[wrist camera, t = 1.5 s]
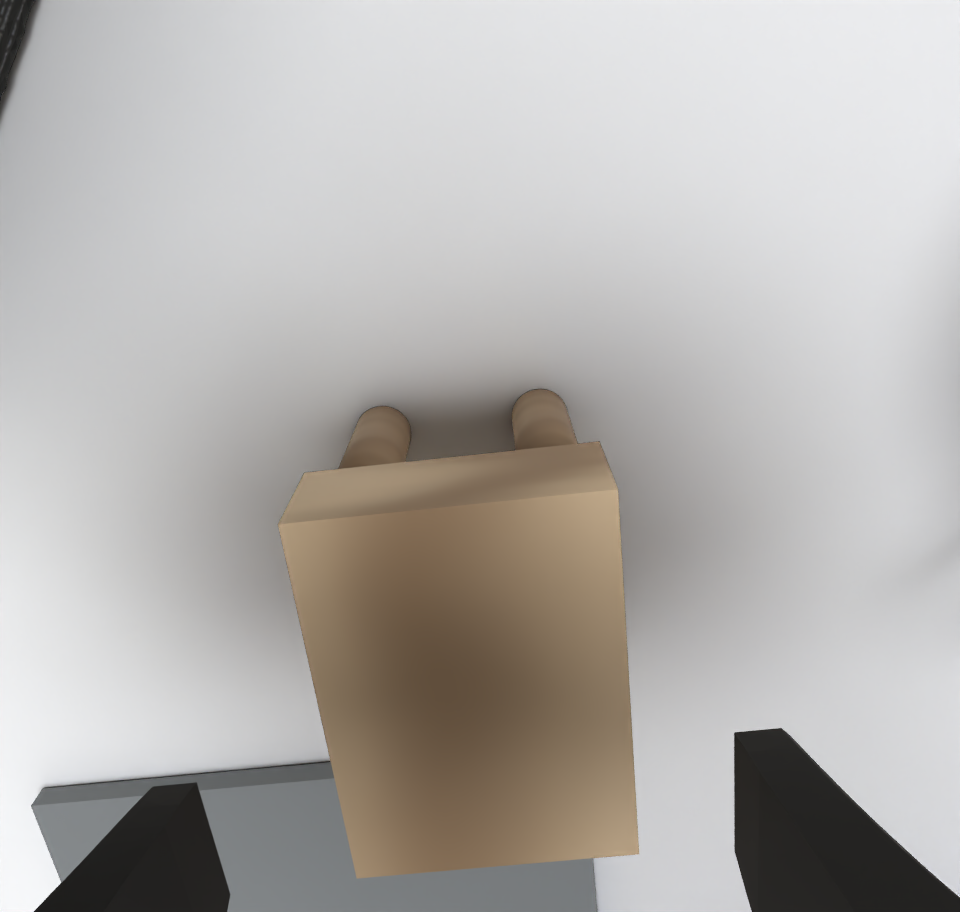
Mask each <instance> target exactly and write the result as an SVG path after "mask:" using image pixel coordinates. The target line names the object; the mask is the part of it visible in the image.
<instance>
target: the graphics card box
mask: <svg viewBox="0 0 960 912" xmlns="http://www.w3.org/2000/svg"><path fill="white" fill-rule="evenodd" d="M33 2H34V0H0V99H1V95H2V94H3V92H4V91H5V89H6V84H7V76H8V74H9V71H10V68H11V66H12V64H13V61H14V59H15V56H16V53H17V51H18V48H19V45H20V42H21V39H22V37H23V35H24V33H25V24H26V20H27V17H28V14H29V11H30V9H31V7H32V5H33Z"/></svg>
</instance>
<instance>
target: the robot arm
mask: <svg viewBox="0 0 960 912" xmlns="http://www.w3.org/2000/svg"><path fill="white" fill-rule="evenodd" d="M734 774H735V854H736V857H737V861H738V864H739V868H740V872H741V875H742V879H743V882H744V886H745V890H746V893H747V897H748V900H749V903H750V907H751V910H752V912H960V897H958V896H957V895H956V894H955V893H954V892H953V891H951V890H950V889H949V888H948V887H947V886H945V885H944V884H943V883H942V882H941V881H940V880H939V879H937V878H936V877H935V876H934V875H933V874H932V873H931V872H930V871H928V870H927V869H926V868H925V867H924V866H923V865H922V864H921V863H919V862H918V861H917V860H916V859H915V858H914V857H913V856H912V855H911V854H910V853H909V852H908V851H906V850H905V849H904V848H903V847H902V846H901V845H900V844H899V843H898V842H897V841H896V840H895V839H893V838H892V837H891V836H890V835H889V834H888V833H887V832H886V831H885V830H884V829H883V828H882V827H881V826H879V825H878V824H877V823H876V822H875V821H874V820H873V819H872V818H871V817H870V816H869V815H868V814H867V813H866V812H865V811H864V810H863V809H862V808H861V807H860V806H859V805H858V804H857V803H856V802H855V801H854V800H853V799H852V798H851V797H850V796H849V795H848V794H847V793H846V792H845V791H844V790H843V789H842V788H841V787H840V786H839V785H837V784H836V783H835V782H834V780H833V779H832V778H831V777H830V776H829V775H828V774H827V773H826V772H825V771H824V770H823V769H822V768H821V767H820V766H819V765H818V764H817V763H816V762H815V761H814V760H813V759H812V758H811V757H810V756H809V755H808V754H807V753H806V752H805V751H804V750H803V749H802V748H801V746H800V745H799V744H798V743H797V742H796V741H795V740H794V739H793V738H792V737H791V736H790V735H789V734H788V733H786V732H785V731H784V730H783V729H782V728H778V729H768V730H757V731H746V732H735V733H734ZM229 900H230V891H229V888H228V885H227V881H226V878H225V875H224V871H223V868H222V865H221V862H220V858H219V855H218V852H217V848H216V845H215V842H214V838H213V835H212V832H211V828H210V825H209V822H208V818H207V815H206V812H205V808H204V805H203V802H202V798H201V795H200V792H199V788H198V785H197V782H195V783H184V784H174V785H163V786H153V787H152V788H151V789H150V790H149V791H148V792H147V793H146V794H145V795H144V796H143V797H142V798H141V799H140V800H139V801H138V802H137V803H136V804H135V805H134V806H133V807H132V808H131V809H130V810H129V811H128V812H127V813H126V815H125V816H124V817H123V818H122V819H121V820H120V821H119V822H118V823H117V824H116V825H115V826H114V827H113V828H112V830H111V831H110V832H109V833H108V834H107V835H106V836H105V837H104V838H103V839H102V840H101V841H100V842H99V844H98V845H97V846H96V847H95V848H94V849H93V850H92V851H91V852H90V853H89V854H88V855H87V856H86V857H85V859H84V860H83V861H82V862H81V863H80V864H79V865H78V866H77V867H76V868H75V869H74V870H73V871H72V872H71V873H70V874H69V875H68V876H67V877H66V879H65V880H64V881H63V882H62V883H61V884H60V885H59V886H58V887H57V888H56V889H55V890H54V891H53V892H52V893H51V894H50V895H49V896H48V897H47V898H46V899H45V901H44V902H43V903H42V904H41V905H40V906H39V907H38V908H37V909H36V910H35V911H34V912H227V910H228V905H229Z"/></svg>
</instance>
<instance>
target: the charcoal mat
mask: <svg viewBox="0 0 960 912" xmlns="http://www.w3.org/2000/svg"><path fill="white" fill-rule="evenodd" d="M195 782H197V785H198V788H199V792H200V795H201V798H202V802H203V805H204V808H205V812H206V815H207V818H208V822H209V825H210V828H211V832H212V835H213V838H214V842H215V845H216V848H217V852H218V855H219V858H220V862H221V865H222V868H223V871H224V875H225V878H226V881H227V885H228V888H229V891H230V900H229V905H228V910H227V912H597V904H596V892H595V881H594V869H593V858H589V859H577V860H566V861H554V862H543V863H531V864H519V865H508V866H496V867H485V868H473V869H461V870H450V871H438V872H427V873H415V874H403V875H392V876H380V877H369V878H356V873H355V869H354V864H353V860H352V855H351V851H350V846H349V842H348V837H347V833H346V828H345V824H344V819H343V815H342V810H341V806H340V801H339V797H338V792H337V788H336V783H335V779H334V774H333V770H332V765H331V762H326V763H315V764H304V765H293V766H282V767H271V768H260V769H250V770H239V771H228V772H217V773H206V774H195V775H184V776H173V777H163V778H152V779H141V780H130V781H119V782H108V783H97V784H86V785H75V786H65V787H54V788H43V789H42V790H41V792H40V793H39V795H38V796H37V798H36V799H35V801H34V802H33V804H32V805H31V807H32V809H33V812H34V814H35V817H36V820H37V822H38V825H39V827H40V830H41V832H42V835H43V837H44V840H45V842H46V845H47V847H48V850H49V852H50V855H51V858H52V860H53V863H54V865H55V868H56V870H57V873H58V875H59V878H60V880H61V883H62V882H63V881H64V880H65V879H66V877H67V876H68V875H69V874H70V873H71V872H72V871H73V870H74V869H75V868H76V867H77V866H78V865H79V864H80V863H81V862H82V861H83V860H84V859H85V857H86V856H87V855H88V854H89V853H90V852H91V851H92V850H93V849H94V848H95V847H96V846H97V845H98V844H99V842H100V841H101V840H102V839H103V838H104V837H105V836H106V835H107V834H108V833H109V832H110V831H111V830H112V828H113V827H114V826H115V825H116V824H117V823H118V822H119V821H120V820H121V819H122V818H123V817H124V816H125V815H126V813H127V812H128V811H129V810H130V809H131V808H132V807H133V806H134V805H135V804H136V803H137V802H138V801H139V800H140V799H141V798H142V797H143V796H144V795H145V794H146V793H147V792H148V791H149V790H150V789H151V788H152V787H153V786H163V785H174V784H184V783H195Z"/></svg>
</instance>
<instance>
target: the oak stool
mask: <svg viewBox="0 0 960 912" xmlns="http://www.w3.org/2000/svg"><path fill="white" fill-rule="evenodd" d="M512 424H513V433H514V442H515V450H513V451H504V452H495V453H485V454H476V455H466V456H457V457H447V458H438V459H428V460H419V461H410V462H405V461H406V457H407V452H408V448H409V443H410V439H411V428H410V424H409V422H408V420H407V419H406V417H405V416H404V415H403V414H402V413H401V412H399V411H398V410H396V409H394V408H391V407H387V406H378V407H374V408H371V409H369V410H367V411H366V412H365V413H364V414H363V415H362V416H361V417H360V418H359V420H358V422H357V425H356V427H355V430H354V432H353V434H352V437H351V439H350V442H349V444H348V446H347V449H346V451H345V454H344V456H343V458H342V461H341V463H340V465H339V468H338V469H334V470H325V471H315V472H306V473H304V474H303V476H302V478H301V480H300V482H299V484H298V486H297V488H296V490H295V492H294V494H293V496H292V498H291V500H290V502H289V504H288V506H287V508H286V510H285V511H284V513H283V515H282V517H281V519H280V521H279V523H278V527H279V532H280V536H281V541H282V545H283V550H284V554H285V559H286V563H287V568H288V572H289V577H290V581H291V586H292V590H293V595H294V599H295V604H296V608H297V613H298V617H299V622H300V626H301V631H302V635H303V640H304V644H305V649H306V653H307V658H308V662H309V667H310V671H311V676H312V680H313V685H314V689H315V694H316V698H317V703H318V707H319V711H320V716H321V720H322V725H323V729H324V734H325V738H326V743H327V747H328V752H329V756H330V761H331V765H332V770H333V774H334V779H335V783H336V788H337V792H338V797H339V801H340V806H341V810H342V815H343V819H344V824H345V828H346V833H347V837H348V842H349V846H350V851H351V855H352V860H353V864H354V869H355V873H356V878H369V877H380V876H392V875H403V874H415V873H427V872H438V871H450V870H461V869H473V868H485V867H496V866H508V865H519V864H531V863H543V862H554V861H566V860H577V859H589V858H601V857H612V856H624V855H635V854H639V844H638V826H637V809H636V792H635V774H634V757H633V740H632V723H631V705H630V688H629V671H628V653H627V636H626V619H625V601H624V584H623V567H622V549H621V532H620V515H619V497H618V488H617V485H616V483H615V480H614V478H613V475H612V472H611V470H610V467H609V465H608V462H607V460H606V457H605V455H604V452H603V449H602V447H601V444H600V442H599V441H598V442H589V443H579V444H578V443H577V440H576V437H575V433H574V430H573V427H572V424H571V421H570V418H569V415H568V411H567V408H566V405H565V403H564V402H563V400H562V399H561V398H560V397H559V396H558V395H557V394H556V393H554V392H552V391H549V390H545V389H535V390H531V391H529V392H526V393H525V394H523V395H522V396H521V397H520V398H519V399H518V400H517V401H516V403H515V405H514V407H513V410H512Z"/></svg>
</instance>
